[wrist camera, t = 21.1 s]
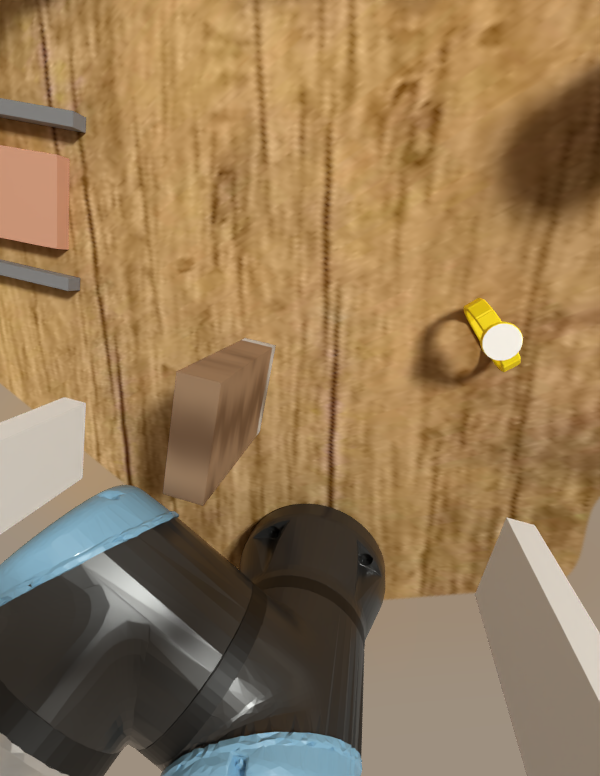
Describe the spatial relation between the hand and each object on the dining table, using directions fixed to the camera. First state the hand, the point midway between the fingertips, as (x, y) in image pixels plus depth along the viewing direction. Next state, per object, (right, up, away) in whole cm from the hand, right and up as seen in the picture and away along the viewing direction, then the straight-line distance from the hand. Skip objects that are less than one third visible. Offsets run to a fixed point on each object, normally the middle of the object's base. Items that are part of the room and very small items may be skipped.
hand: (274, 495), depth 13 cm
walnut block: (-4, +3, +28) cm, 28 cm away
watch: (+16, +8, +23) cm, 29 cm away
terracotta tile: (-25, +22, +28) cm, 43 cm away
